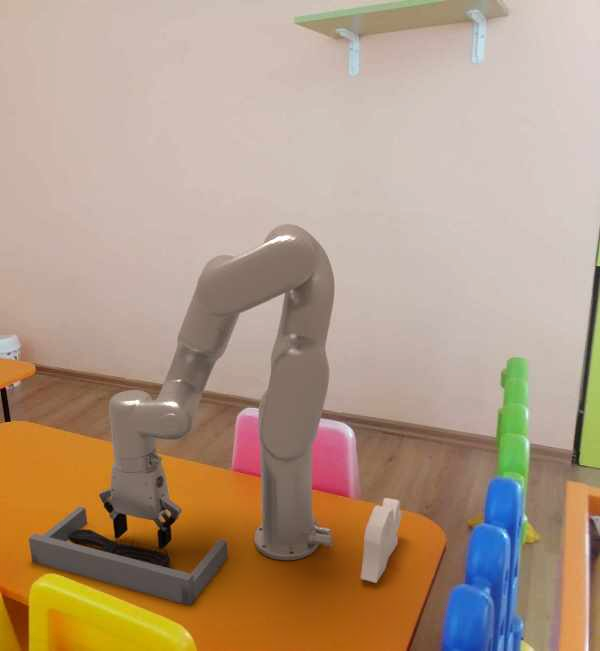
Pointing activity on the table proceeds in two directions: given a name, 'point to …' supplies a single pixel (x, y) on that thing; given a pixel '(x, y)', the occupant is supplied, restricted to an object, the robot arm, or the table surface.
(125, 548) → the hairbrush
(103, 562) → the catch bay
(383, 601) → the table surface
